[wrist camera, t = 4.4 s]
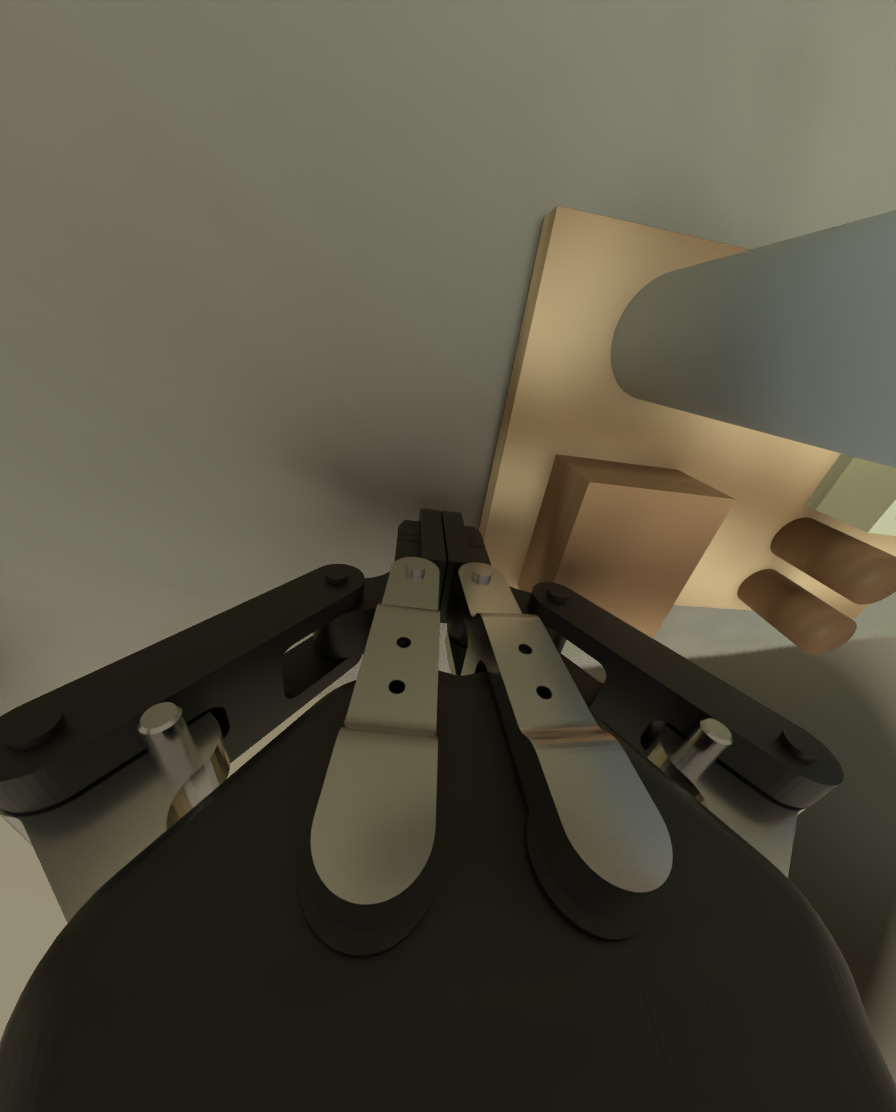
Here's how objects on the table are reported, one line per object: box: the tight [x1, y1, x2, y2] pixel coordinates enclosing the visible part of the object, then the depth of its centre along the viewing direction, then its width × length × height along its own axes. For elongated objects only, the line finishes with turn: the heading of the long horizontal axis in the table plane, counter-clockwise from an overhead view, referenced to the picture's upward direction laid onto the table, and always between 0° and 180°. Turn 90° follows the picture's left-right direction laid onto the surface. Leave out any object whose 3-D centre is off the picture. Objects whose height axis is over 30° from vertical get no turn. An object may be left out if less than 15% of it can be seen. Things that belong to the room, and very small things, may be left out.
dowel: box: [611, 210, 896, 468], centre depth 7 cm, size 4×4×10 cm
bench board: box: [479, 206, 896, 655], centre depth 13 cm, size 13×21×5 cm, turn 82°
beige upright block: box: [517, 454, 736, 637], centre depth 14 cm, size 6×5×3 cm
